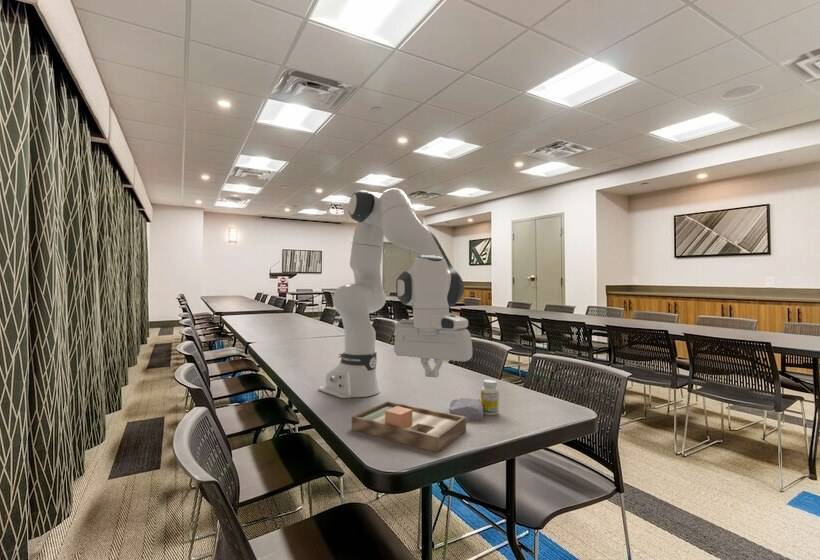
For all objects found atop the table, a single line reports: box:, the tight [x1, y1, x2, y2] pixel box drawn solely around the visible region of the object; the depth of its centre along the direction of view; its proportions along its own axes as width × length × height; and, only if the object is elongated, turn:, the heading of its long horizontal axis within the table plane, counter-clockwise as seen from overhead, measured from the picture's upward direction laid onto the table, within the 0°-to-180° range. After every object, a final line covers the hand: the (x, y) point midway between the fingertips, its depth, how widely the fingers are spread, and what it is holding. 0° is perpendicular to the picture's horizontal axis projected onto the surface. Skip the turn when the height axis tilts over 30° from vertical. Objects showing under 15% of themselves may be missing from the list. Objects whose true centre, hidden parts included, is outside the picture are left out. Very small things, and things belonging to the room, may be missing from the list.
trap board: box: [351, 400, 467, 453], centre depth 102 cm, size 26×17×3 cm, turn 59°
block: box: [385, 406, 412, 428], centre depth 98 cm, size 5×5×4 cm
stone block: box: [448, 397, 484, 421], centre depth 116 cm, size 12×5×10 cm
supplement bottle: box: [480, 379, 500, 416], centre depth 117 cm, size 5×5×10 cm
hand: (431, 376), depth 94 cm, fingers closed
